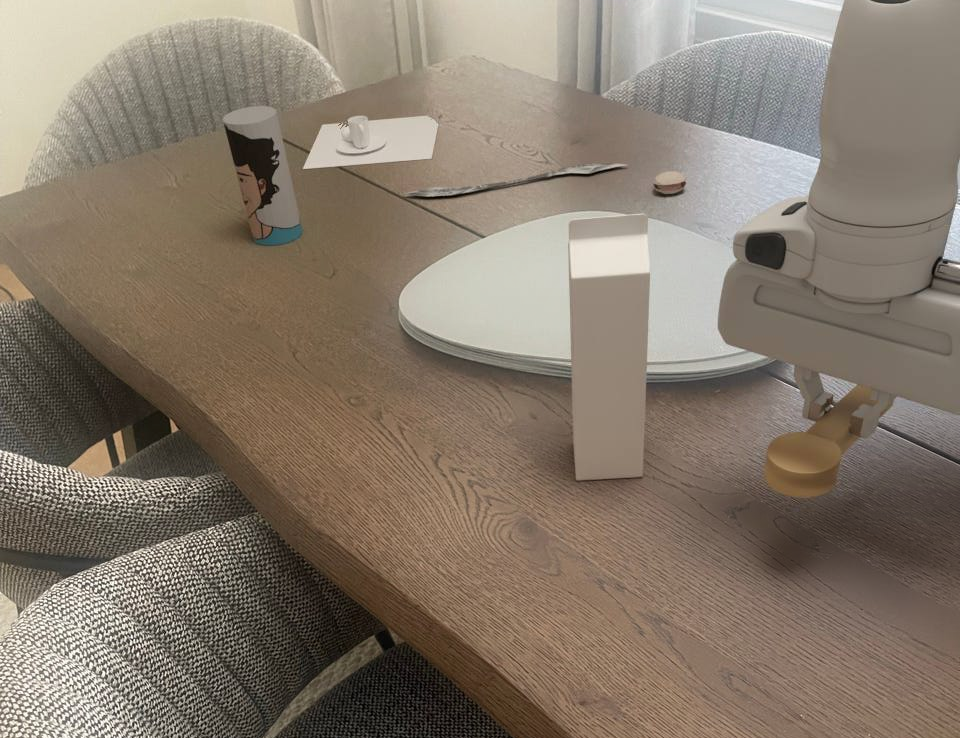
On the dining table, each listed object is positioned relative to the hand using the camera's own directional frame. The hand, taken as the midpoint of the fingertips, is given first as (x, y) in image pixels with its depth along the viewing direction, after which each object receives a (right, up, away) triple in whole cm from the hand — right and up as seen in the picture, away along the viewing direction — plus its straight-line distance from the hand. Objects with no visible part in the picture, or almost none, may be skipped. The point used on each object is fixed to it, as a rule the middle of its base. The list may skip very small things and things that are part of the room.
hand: (838, 424), depth 73 cm
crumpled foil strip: (-22, +48, +64) cm, 83 cm away
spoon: (0, -1, +1) cm, 2 cm away
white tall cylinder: (-54, +39, +58) cm, 89 cm away
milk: (-15, 0, +15) cm, 22 cm away
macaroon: (-2, +44, +57) cm, 72 cm away
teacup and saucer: (-44, +63, +81) cm, 112 cm away
